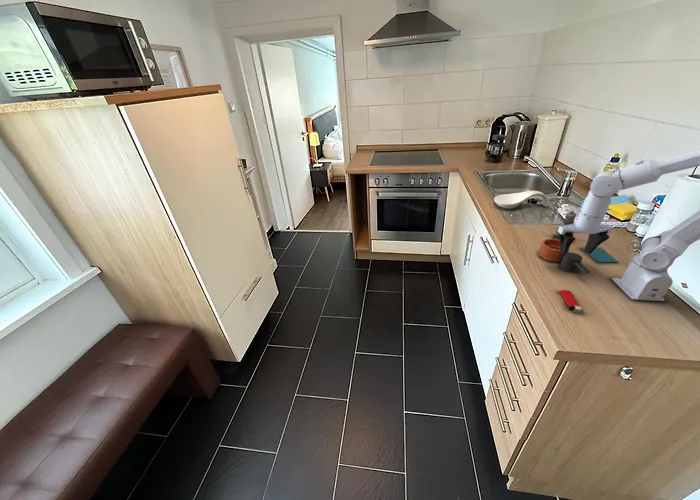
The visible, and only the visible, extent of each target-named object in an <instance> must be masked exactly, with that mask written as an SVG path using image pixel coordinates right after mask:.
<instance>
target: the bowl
mask: <svg viewBox="0 0 700 500" xmlns="http://www.w3.org/2000/svg"><path fill="white" fill-rule="evenodd" d="M570 250H571V246H570V247H569V249H568V251H567V252H570ZM538 256H539V257H541V258H542V259H544V260H546V261H548V262H553V263H561V262H562V259H563V257H564V254H562V253H561V252H560V240H557V239H554V238H545V239H543V240H542V242H541V245H540V248H539V250H538Z"/></svg>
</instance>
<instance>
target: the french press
mask: <svg viewBox="0 0 700 500" xmlns="http://www.w3.org/2000/svg"><path fill="white" fill-rule="evenodd" d="M497 127H498V128H500V131H499V134H493V135H492V141H493V142H491V143H488V144H487V148H486V152H485V153H486V154H485V158H486V159H487V160H486V162H487V163H490V164H500V163H502V162H503V154H504V151H505V147H506V143H505V142H503V141H506V140H507V138H508V135H506V134H501V133H502V130H503V128H506V126H505V125H499V126H497ZM500 141H501V142H500Z"/></svg>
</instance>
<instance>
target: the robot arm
mask: <svg viewBox="0 0 700 500" xmlns="http://www.w3.org/2000/svg"><path fill="white" fill-rule="evenodd" d="M696 167H700V148H698V149H695V150H692V151H689V152H685V153H683V154H680V155H677V156H673V157H670V158H667V159H664V160H660V161H656V160H652V159H647V160H644V159H639V160H635V163H633V164H630V165H628V166H624V167H621V168H617V167H614V168H612V169H611V170H610V171H609V170H608V171H603V172H600V173H598V174H597V175H596V176H595V177H594V178H593V180H592V182H591V183H590V187H589V188H590V189H589V191H588V193H587V196H586V197H585V199H584V202H583V204H582V206H581V209H580V210H579V213H578V216H577V218H576V220H574V224H570V225H565V226H562V225H559V226H558V227H559V229H558V234H559V237H560V252H561V253H562V254H566V253H567V251H568V249H569V247H570V248H571V246H572V244H573V243H574V242H575V241H576V239H577V238H575V236H574V234H588V238H587V242H586V244H585V246H584V248H585V250H584V251H586V252H587V253H588V254H591V253H592V252H593V251H594V250H595V248H599V246H600V245H601V244H603V243H605V242H606V241H608V240H609V239H610V235H609V234H612V232H613V230H614V227H613V226H612V225H610V224H602V222H603V220H604V218H605V216H606V213H607V211H608V209H609V207H610V205H611V203H612V198H613V195H615V194H616V193H617V192H618V191H622V190H623V191H624V190H627V189H632V188H636V187H640V186H643V185H647V184H651V183H655V182H657V181H658V180H659V179H660V178H661V177H662V176H663V175H667V174H671V173H675V172H680V171H684V170H688V169H693V168H696ZM573 233H574V234H573ZM572 234H573V235H572ZM699 240H700V209H699V210H698V211H696V212H695V213H694V214H692V215H690V216H689V217H688V218H686V219H685V220H683V221H681V222H680V223H679V224H677V225H676V226H675V227H673V228H672V229H668V230H663V231H662V232H660V233H659V234H656V235H654V236H650V237H647V238H646V239H644V240H643V241H642V242H641V245H640V252H639V253H638V254H637V255H635V256H633V258H632V260H631V261H630V262H629V264H628V266H627V268H626V270H625V272H624V274H623V275H622V277H612V278H611V280H612V281H613V282H614V283H615V284H616V285H617V286H618V287H619V288H620V289H621V290H622V291H623V292H624V293H625V294H626V295H627V296H628V297H629V298H630V299H632V300H633V301H656V302H664V301H665V300H666V299H665V298H664V296H665V295H666V293H667V292H668V291H669V290H670V288H671V286H672V285H673V282H674V281H673V279H672V277H671V276H670V275H669V273H668V269H669V268H670V267H671V266H673V264H674V262H675V260H676V259H677V258H679V257H680V256H683V254H684V253H685V251H686V250H687V249H688V248H689V247H690V245H692V244H694V243H696V242H697V241H699ZM584 251H583V252H584ZM586 252H585V253H586ZM587 253H586V254H587ZM588 254H587V255H588Z"/></svg>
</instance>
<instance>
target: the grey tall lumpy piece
mask: <svg viewBox="0 0 700 500" xmlns="http://www.w3.org/2000/svg"><path fill="white" fill-rule="evenodd" d="M576 217H577V214H576V212H575V211H574V210H573V209H572V210H571V211H568V212H566V214H565V217H564V219H562V224H561V226H565V225H570V224H574V223H575V221H576V220H575V219H576ZM558 229H559V226H558V227H556V228H555V234H556V235H553V239H557V240H560V237H559V234H558ZM574 234H575V233H573V234H572V235H573V236H574Z"/></svg>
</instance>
